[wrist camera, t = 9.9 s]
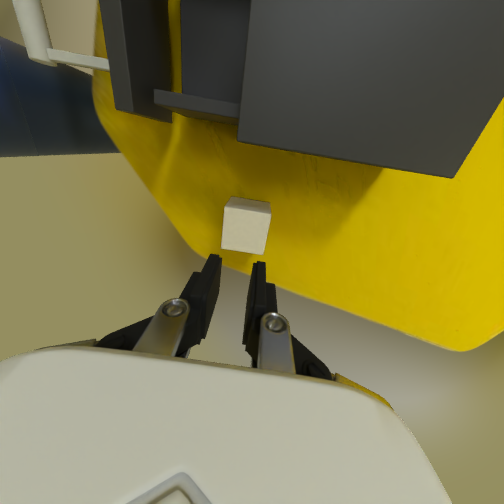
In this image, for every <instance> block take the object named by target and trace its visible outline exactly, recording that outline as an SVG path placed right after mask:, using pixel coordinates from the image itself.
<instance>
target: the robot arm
mask: <svg viewBox="0 0 504 504" xmlns="http://www.w3.org/2000/svg"><path fill="white" fill-rule="evenodd" d="M221 265H222V258H220V257H219V255H216V254H210V255H209V257H208V259H207V261H206V263H205V265H204V268H203V269H202V271H201V272H193V274H192V276H191V277H190V279H189V281H188V283H187V284H186V286H185V288H184V290H183V292H182V293H181V295H180V297H179V298H174V299H170V300H167V301H165V302H164V303H163V304H162V305H161V306H160V307H159V309H158V310H157V312H156V314H155V315H154V316H152V317H149V318H147V319H144V320H142V321H139V322H137V323H135V324H132V325H130V326H127V327H125V328H122V329H120V330H117V331H115V332H112V333H110V334H109V335H107V336H105V337H104V338H102V339H101V340H100V341H96V339H91V340H85V341H79V342H73V343H68V344H62V345H56V346H50V347H44V348H40V349H36V350H34V351H29V352H25V353H21V354H18V355H15V356H12V357H9V358H7V359H5V360H3V361H1V362H0V504H452V502H451V500H450V499H449V497H448V495H447V493H446V491H445V489H444V487H443V485H442V484H441V482H440V480H439V478H438V476H437V474H436V473H435V471H434V469H433V467H432V465H431V464H430V462H429V460H428V459H427V457H426V455H425V453H424V452H423V450H422V449H421V447H420V445H419V444H418V442H417V440H416V439H415V437H414V436H413V434H412V433H411V431H410V430H409V428H408V427H407V426H406V424H405V423H404V422H403V420H401V418H400V417H399V416H398V415H397V414H396V413H395V412H394V410H393V409H392V407H391V406H390V404H389V403H388V402H387V401H386V400H385V399H384V398H383V397H381V396H380V395H378V394H376V393H374V392H372V391H370V390H368V389H367V388H365V387H363V386H361V385H359V384H357V383H355V382H353V381H351V380H349V379H347V378H345V377H343V376H341V375H339V374H338V373H335V375H334V374H332V373H330V371H329V369H328V368H327V366H326V365H325V364H324V363H323V362H322V361H321V360H319V359H318V358H317V357H316V356H315V355H314V354H313V353H312V352H311V351H309V350H308V349H307V348H306V347H305V346H304V345H303V344H301V343H300V342H299V341H298V340H297V339H296V338H295V337H294V336H293V335H291V333H290V326H289V323H288V321H287V319H286V318H285V317H284V316H282V315H280V314H278V312H277V300H276V290H275V284H273V283H266V263H265V262H260V261H257V263H253V268H252V274H251V279H250V285H249V290H248V296H247V304H246V313H245V324H244V332H243V341H242V342H243V343H242V344H244V345H246V349H245V351H247V352H248V354H249V355H250V356H251V357H252V359H251V368H250V367H243V366H236V365H228V364H221V363H215V362H208V361H201V360H193V359H187V358H188V355H189V353H190V348H191V347H193V346H194V345H196V344H200V342H201V339H205V337H206V334H207V331H208V328H209V324H210V321H211V317H212V314H213V311H214V308H215V304H216V301H217V298H218V294H219V287H220V275H221Z"/></svg>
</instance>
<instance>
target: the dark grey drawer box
mask: <svg viewBox="0 0 504 504" xmlns="http://www.w3.org/2000/svg"><path fill="white" fill-rule="evenodd" d="M503 97H504V0H250V10H249V20H248V30H247V40H246V50H245V60H244V70H243V81H242V91H241V101H240V111H239V121H238V131H237V141H238V142H242V143H246V144H251V145H257V146H263V147H268V148H274V149H280V150H286V151H291V152H297V153H303V154H309V155H314V156H320V157H326V158H332V159H337V160H343V161H349V162H355V163H360V164H366V165H372V166H378V167H383V168H389V169H395V170H402V171H408V172H414V173H420V174H426V175H432V176H439V177H445V178H451V179H452V178H454V176H455V175H456V173H457V172H458V170H459V168H460V167H461V165H462V164H463V162H464V160H465V159H466V157H467V155H468V154H469V152H470V151H471V149H472V147H473V146H474V144H475V142H476V141H477V139H478V138H479V136H480V134H481V133H482V131H483V130H484V128H485V126H486V125H487V123H488V121H489V120H490V118H491V117H492V115H493V113H494V112H495V110H496V108H497V107H498V105H499V104H500V102H501V100H502V99H503Z"/></svg>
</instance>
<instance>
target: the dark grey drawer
mask: <svg viewBox="0 0 504 504" xmlns="http://www.w3.org/2000/svg"><path fill="white" fill-rule="evenodd" d="M12 2H13V5H14V9H15V12H16V15H17V18H18V21H19V25H20V29H21V32H22V35H23V39H24V42H25V46H26V49H27V52H28V56H29V58H30V59H31V60H33V61H36V62H39V63H42V64H45V65H49V66H57V64H56V62H58V63H63V64H69V65H74V66H80V67H85V68H91V69H96V70H102V71H107V72H110V76H111V82H112V89H113V95H114V102H115V108H116V110H119V111H123V112H127V113H131V114H135V115H138V116H142V117H146V118H150V119H154V120H157V121H162V122H167V123H172V111H173V112H176V113H178V114H181V115H183V116H186V117H191V118H197V119H202V120H208V121H214V122H219V123H225V124H231V125H236V126H238V121H239V111H240V101H241V91H242V81H243V70H244V60H245V50H246V40H247V30H248V20H249V10H250V0H180V6H181V64H182V94H181V93H176V92H171V71H170V44H169V18H168V0H99V3H100V10H101V16H102V23H103V30H104V36H105V43H106V49H107V56H108V59H105V58H99V57H94V56H88V55H83V54H77V53H72V52H66V51H61V50H55V49H53V48H52V44H51V39H50V35H49V32H48V28H47V23H46V19H45V16H44V11H43V7H42V3H41V0H12Z"/></svg>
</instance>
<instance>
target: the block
mask: <svg viewBox="0 0 504 504" xmlns="http://www.w3.org/2000/svg"><path fill="white" fill-rule="evenodd" d="M270 219H271V208H270V203H269V202H263V201H257V200H251V199H245V198H239V197H233V196H231V198H230V199H229V201H228V202H227V204H226V205H225V207H224V219H223V231H222V242H221V248H222V249H228V250H234V251H241V252H247V253H253V254H260V255H263V253H264V248H265V243H266V239H267V234H268V229H269V224H270Z"/></svg>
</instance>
